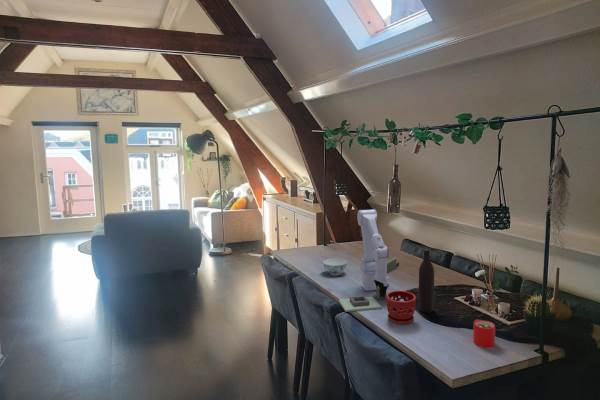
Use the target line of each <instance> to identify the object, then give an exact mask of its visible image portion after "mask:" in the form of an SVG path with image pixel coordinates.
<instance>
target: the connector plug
mask: <svg viewBox="0 0 600 400" xmlns="http://www.w3.org/2000/svg"><path fill="white" fill-rule="evenodd" d="M375 292H376V296H375V297H376V298H377V299H378V300H384V299H385V300H386V295H387V293H386V294H385V297H381V296H380V290H379V286H378V287H376V290H375Z"/></svg>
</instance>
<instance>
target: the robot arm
mask: <svg viewBox="0 0 600 400" xmlns="http://www.w3.org/2000/svg"><path fill="white" fill-rule="evenodd" d="M356 218H357V223H358V226H360V229H361V236H362V237H361V238H362V243H363V245H362V246H363V251H364V256H363V257H362V258H361V259H360V265H359V266H360V270H361V273H362V277H361V278H362V284H360V286H361V287H362V288H363V290H365V292H367V291H376V287H378V286H379V290H380V296H381V297H385V294H386V295H387V290H388V288H389V286H390V284H389V282H388V280H390V277H389V276H387V275H388V273H387V261H388V260H387V259H388V258H389V255H390V252H389V248H388V247H387V245H386V244H385V242H384V240H383V239H384V238H383V237H382V235H381V234H380V233H379V229H378V225H377V220H378V212H377V210H376V209H375V208H374V209H359V210H358V211H357V216H356Z"/></svg>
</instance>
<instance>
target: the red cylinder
mask: <svg viewBox="0 0 600 400" xmlns="http://www.w3.org/2000/svg"><path fill="white" fill-rule="evenodd" d="M472 327H473V337H472V338H473V341H472V342H473V344H475V345H476V346H477V347H480V348H487V349H489V348H493V347H495V343H496V324H495V323H494V322H491V321H488V320H482V319H475V320H474V321H473V326H472Z"/></svg>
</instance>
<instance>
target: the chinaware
mask: <svg viewBox="0 0 600 400" xmlns="http://www.w3.org/2000/svg"><path fill="white" fill-rule="evenodd" d="M322 263H323V267H324V269H325V270H326V271H327V272H328V273H329V274H330V275H332V276H340V275H341V274H342V273H343V272H344V271H345V270H346V268H347V266H348V260H346V259H344V258H343V259H342V258H328V259H324V260H323V262H322Z"/></svg>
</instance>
